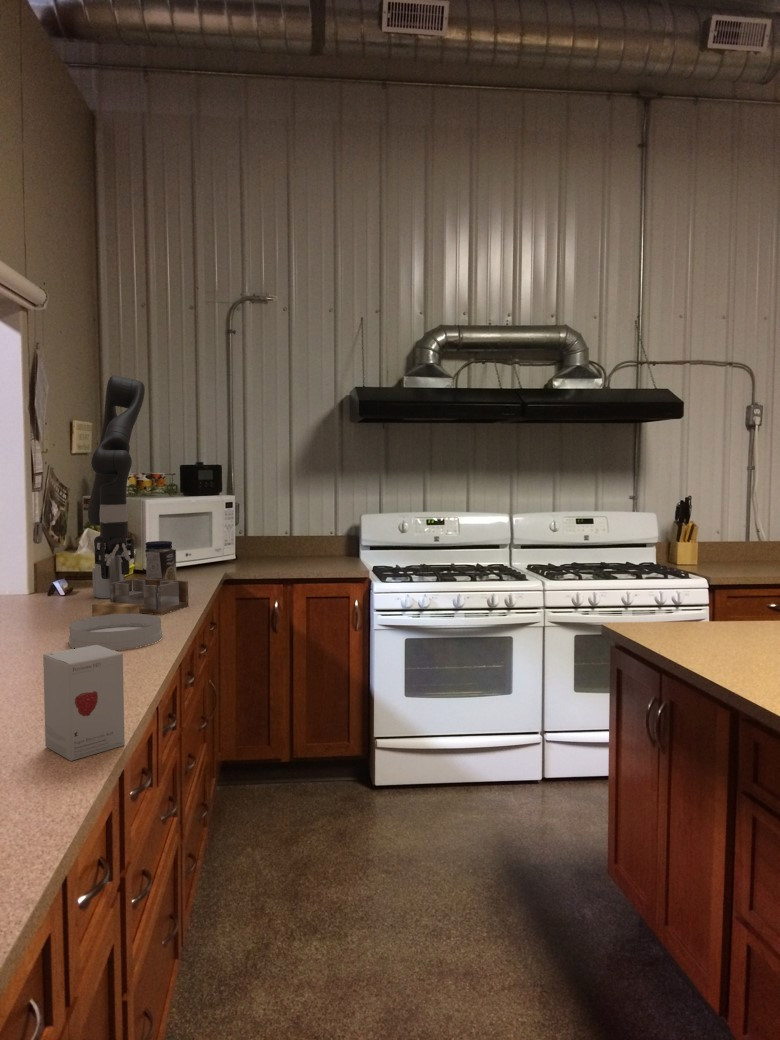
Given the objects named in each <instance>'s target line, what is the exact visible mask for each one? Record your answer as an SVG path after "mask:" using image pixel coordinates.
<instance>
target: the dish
mask: <svg viewBox="0 0 780 1040" xmlns="http://www.w3.org/2000/svg"><path fill="white" fill-rule="evenodd" d="M161 638H162V639H163V630H162V619H161V617H159V616H157V615H155V614H142V613H139V614H110V615H102V616H95V617H92V616H90V617H84V618H81V619H78V620H75V621H73V622H71V623H70V624H69V636H68V640H69V641H68V645H70V646H71V647H72V648H71V649H74V648H82V647H87V646H92V645H99V646H102V647H105V648H108V649H111V650H119V651H124V650H123V649H128V650H131V649H130V648H135V649H137V648H136V647H140V646H145V645H148V644H152V643H155V642H157V641H159V640H160V639H161ZM162 639H161V640H162ZM161 640H160V641H161ZM160 641H159V642H160ZM157 643H158V642H157ZM155 644H156V643H155ZM152 645H153V644H152ZM70 646H69V647H70ZM148 646H149V645H148ZM145 647H146V646H145ZM140 648H141V647H140Z"/></svg>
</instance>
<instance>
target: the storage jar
mask: <svg viewBox="0 0 780 1040" xmlns="http://www.w3.org/2000/svg"><path fill="white" fill-rule="evenodd" d="M172 544H173V541H170V540H168V541H167V540H155V541H147V542H145V551H144V552H145V557H146V552H149V551H154V550H164V549H173V545H172Z"/></svg>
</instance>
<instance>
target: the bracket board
mask: <svg viewBox="0 0 780 1040" xmlns="http://www.w3.org/2000/svg"><path fill="white" fill-rule="evenodd" d="M109 599H110V603H124V604H139V614H142V613H153V614H152V615H156V614H163V615H165V614H164V613H166V614H168V613H167V612H169V613H171V612H170V611H172V612H174V610H175V611H178V610H177V609H179V610H181V609H180V608H182V609H185V608H187V606H188V607H189V581H188V580H177V579H176V580H160V579H146V578H136V579H133V578H128V579H125V580H123V581H118V582H114V583H110V598H109ZM184 607H185V608H184Z"/></svg>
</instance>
